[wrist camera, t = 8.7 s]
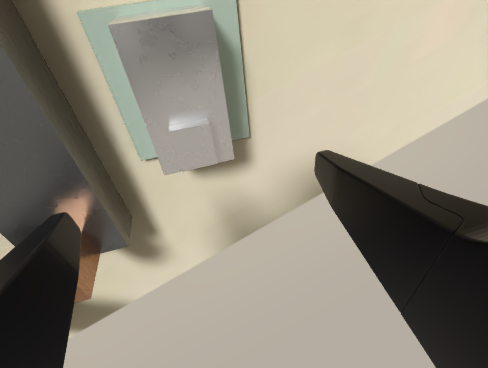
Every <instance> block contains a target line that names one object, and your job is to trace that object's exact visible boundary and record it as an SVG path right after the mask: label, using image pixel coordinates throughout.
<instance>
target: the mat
mask: <svg viewBox="0 0 488 368" xmlns="http://www.w3.org/2000/svg"><path fill="white" fill-rule="evenodd" d="M197 4H204V5H206V6H208V7H209V8H211V9H212V11H213V18H214V24H215V31H216V38H217V45H218V51H219V58H220V65H221V72H222V78H223V85H224V92H225V99H226V105H227V112H228V119H229V125H230V132H231V139H232V141H233V140H238V139H242V138H247V137H250V136H249V126H248V116H247V106H246V95H245V85H244V75H243V65H242V55H241V45H240V34H239V24H238V14H237V4H236V0H153V1H146V2H139V3H132V4H125V5H118V6H111V7H104V8H97V9H90V10H83V11H78V12H77V14H78V16H79V19H80V21H81V23H82V26H83V28H84V30H85V33H86V35H87V37H88V39H89V42H90V44H91V46H92V49H93V51H94V53H95V56H96V58H97V60H98V63H99V65H100V67H101V69H102V72H103V74H104V76H105V79H106V81H107V83H108V86H109V88H110V90H111V93H112V95H113V97H114V99H115V102H116V104H117V106H118V109H119V111H120V113H121V116H122V118H123V120H124V122H125V125H126V127H127V129H128V132H129V134H130V136H131V139H132V141H133V143H134V146H135V148H136V150H137V152H138V155H139V157H140V159H141V161H142V160H147V159H152V158H156V157H157V154H156V151H155V149H154V146H153V143H152V141H151V138H150V136H149V133H148V130H147V128H146V125H145V122H144V120H143V117H142V114H141V112H140V109H139V106H138V104H137V101H136V98H135V96H134V93H133V91H132V88H131V85H130V83H129V80H128V77H127V75H126V72H125V69H124V67H123V64H122V61H121V59H120V56H119V53H118V51H117V48H116V45H115V43H114V40H113V38H112V35H111V32H110V30H109V27H108V24H109V23H110V22H111V21H112V20H114V19H115V18H116V17H117V16H122V15H129V14H136V13H143V12H150V11H156V10H163V9H170V8H177V7H184V6H190V5H197Z"/></svg>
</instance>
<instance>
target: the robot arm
mask: <svg viewBox="0 0 488 368" xmlns="http://www.w3.org/2000/svg"><path fill="white" fill-rule="evenodd" d="M314 171H315V175H316V177H317V179H318V181H319V183H320V185H321V187H322V189H323V192H324V194H325V196H326V198H327V200H328V201H329V204H330V205H331V207H332V209H333V210H334V212H335V214H336V215H337V216H338V218H339V219H340V221H341V223H342V224H343V226H344V227H345V229H346V230H347V232H348V233H349V235H350V236H351V238H352V240H353V241H354V243H355V244H356V246H357V247H358V249H359V250H360V251H361V253H362V255H363V256H364V258H365V259H366V261H367V262H368V264H369V266H370V267H371V269H372V270H373V272H374V273H375V275H376V276H377V278H378V279H379V281H380V282H381V284H382V285H383V287H384V289H385V290H386V292H387V293H388V295H389V296H390V298H391V299H392V301H393V302H394V303H395V305H396V307H397V308H398V310H399V311H400V312H401V315H402V316H403V318H404V319H405V321H406V322H407V324H408V325H409V327H410V328H411V330H412V332H413V333H414V335H415V336H416V338H417V339H418V341H419V342H420V344H421V345H422V347H423V348H424V350H425V351H426V353H427V355H428V356H429V358H430V359H431V361H432V362H433V364H434V365H435V367H436V368H488V206H486V205H483V204H479V203H476V202H473V201H469V200H466V199H463V198H460V197H457V196H454V195H450V194H447V193H444V192H441V191H438V190H436V189H432V188H430V187H427V186H425V185H422V184H417V183H416V182H413V181H411V180H408V179H405V178H403V177H400V176H397V175H394V174H392V173H389V172H386V171H384V170H381V169H378V168H375V167H373V166H370V165H367V164H365V163H362V162H359V161H356V160H354V159H351V158H348V157H345V156H343V155H340V154H337V153H334V152H332V151H329V150H324V151H320V152H318V153H317V154H316V158H315V169H314ZM80 248H81V230H80V228H79V226H78V225H77V224H76V222H75V221H74V220H73V218H72V217H71V216H70V215H69V214H68V213H67V212H61V213H57V214H53V215H51V216H50V217H49V218H48V219H46V220H45V221H44V222H43V223H42V224H41V225H40V226H38V227H37V228H36V229H35V230H34V231H33V232H32V233H31V234H29V235H28V236H27V237H26V238H25V239H24V240H23V241H21V242H20V243H19V244H18V245H17V246H16V247H15V248H13V249H12V250H11V251H10V252H9V253H8V254H7V255H6V256H4V257H3V258H2V259H1V260H0V368H63V365H64V359H65V353H66V347H67V342H68V336H69V330H70V324H71V319H72V313H73V307H74V301H75V295H76V290H77V284H78V278H79V269H80Z"/></svg>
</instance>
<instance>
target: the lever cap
mask: <svg viewBox="0 0 488 368" xmlns="http://www.w3.org/2000/svg"><path fill="white" fill-rule="evenodd" d="M108 27H109V30H110V32H111V35H112V38H113V40H114V43H115V45H116V48H117V51H118V53H119V56H120V59H121V61H122V64H123V67H124V69H125V72H126V75H127V77H128V80H129V83H130V85H131V88H132V91H133V93H134V96H135V98H136V101H137V104H138V106H139V109H140V112H141V114H142V117H143V120H144V122H145V125H146V128H147V130H148V133H149V136H150V138H151V141H152V143H153V146H154V149H155V151H156V154H157V157H158V159H159V162H160V165H161V167H162V170H163V173H164V175H168V174H172V173H176V172H181V171H182V172H184V171H188V170H192V169H197V168H201V167H205V166H210V165H214V164H218V163H220V162H224V161H229V160H233V159H234V152H233V146H232V139H231V132H230V125H229V119H228V112H227V105H226V99H225V92H224V85H223V78H222V72H221V65H220V58H219V51H218V45H217V38H216V31H215V24H214V18H213V11H212V9H211V8H209V7H208V6H206V5H204V4H197V5H190V6H184V7H177V8H170V9H163V10H156V11H150V12H143V13H136V14H129V15H122V16H117V17H116V18H115V19H114V20H112V21H111V22H110V23H109V24H108Z"/></svg>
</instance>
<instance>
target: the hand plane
mask: <svg viewBox="0 0 488 368" xmlns="http://www.w3.org/2000/svg"><path fill="white" fill-rule="evenodd" d="M61 212H67V213H68V214H69V215H70V216H71V217H72V218H73V220H74V221H75V222H76V224H77V225H78V226H79V228H80V230H81V248H80V269H79V278H78V284H77V290H76V295H75V301H74V303H77V302H80V301H84V300H88V299H91V295H92V290H93V285H94V281H95V276H96V271H97V266H98V262H99V257H100V253H104V252H108V251H111V250H115V249H119V248H123V247H127V246H129V237H130V228H131V219H132V217H131V215H130V213H129V211H128V209H127V208H126V206H125V204H124V202H123V200H122V199H121V197H120V195H119V193H118V191H117V190H116V188H115V186H114V184H113V182H112V181H111V179H110V177H109V175H108V174H107V172H106V170H105V168H104V166H103V165H102V163H101V161H100V159H99V157H98V156H97V154H96V152H95V150H94V148H93V147H92V145H91V143H90V141H89V139H88V138H87V136H86V134H85V132H84V130H83V129H82V127H81V125H80V123H79V121H78V120H77V118H76V116H75V114H74V112H73V111H72V109H71V107H70V105H69V103H68V102H67V100H66V98H65V96H64V94H63V93H62V91H61V89H60V87H59V86H58V84H57V82H56V80H55V78H54V77H53V75H52V73H51V71H50V69H49V68H48V66H47V64H46V62H45V60H44V59H43V57H42V55H41V53H40V51H39V50H38V48H37V46H36V44H35V42H34V41H33V39H32V37H31V35H30V33H29V32H28V30H27V28H26V26H25V24H24V23H23V21H22V19H21V17H20V15H19V14H18V12H17V10H16V8H15V6H14V5H13V3H12V1H11V0H0V233H1V234H2V235H3V236H4V237H5V238H6V239H7V240H9V241H10V242H11V243H12V244H13V245H14V246H15V247H16V246H17V245H18V244H19V243H20V242H21V241H23V240H24V239H25V238H26V237H27V236H28V235H29V234H31V233H32V232H33V231H34V230H35V229H36V228H37V227H38V226H40V225H41V224H42V223H43V222H44V221H45V220H46V219H48V218H49V217H50V216H51V215H53V214H57V213H61Z"/></svg>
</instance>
